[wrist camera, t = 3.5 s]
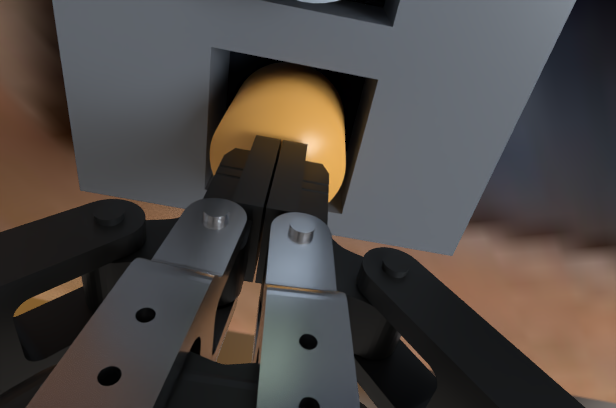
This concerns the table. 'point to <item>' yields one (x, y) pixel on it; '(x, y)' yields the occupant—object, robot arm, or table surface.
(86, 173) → the button panel
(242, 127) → the orange button
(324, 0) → the blue-grey button
